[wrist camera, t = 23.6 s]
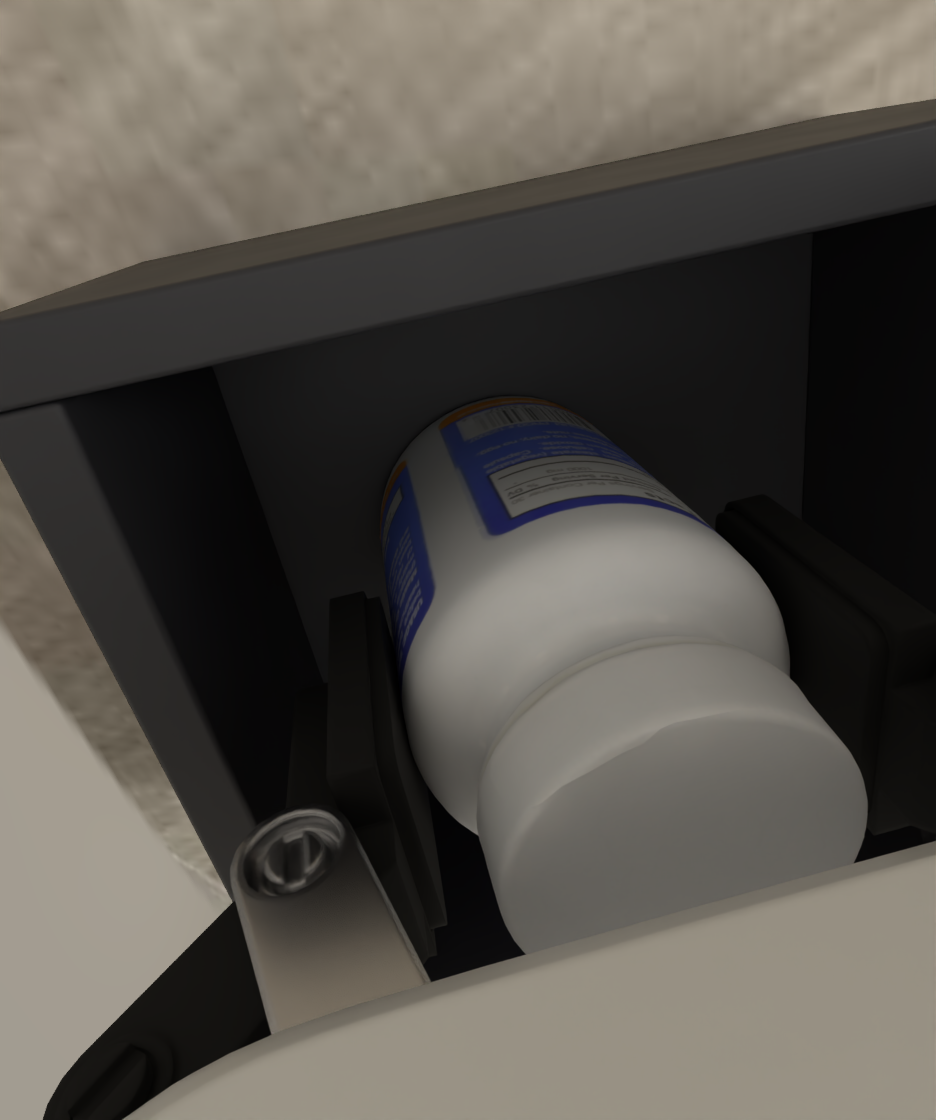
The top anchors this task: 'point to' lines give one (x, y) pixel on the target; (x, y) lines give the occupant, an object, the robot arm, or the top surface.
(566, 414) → the pill bottle
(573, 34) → the top surface
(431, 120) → the top surface
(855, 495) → the black storage bin
